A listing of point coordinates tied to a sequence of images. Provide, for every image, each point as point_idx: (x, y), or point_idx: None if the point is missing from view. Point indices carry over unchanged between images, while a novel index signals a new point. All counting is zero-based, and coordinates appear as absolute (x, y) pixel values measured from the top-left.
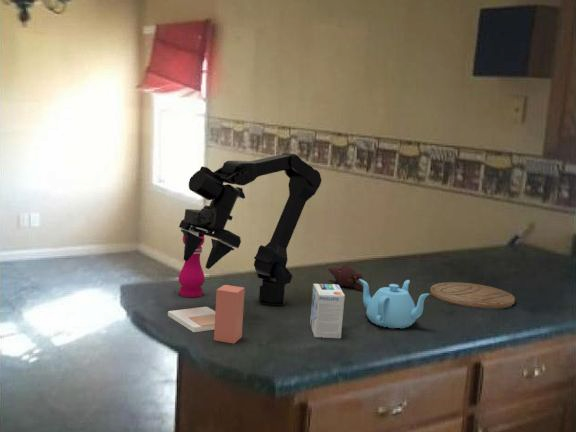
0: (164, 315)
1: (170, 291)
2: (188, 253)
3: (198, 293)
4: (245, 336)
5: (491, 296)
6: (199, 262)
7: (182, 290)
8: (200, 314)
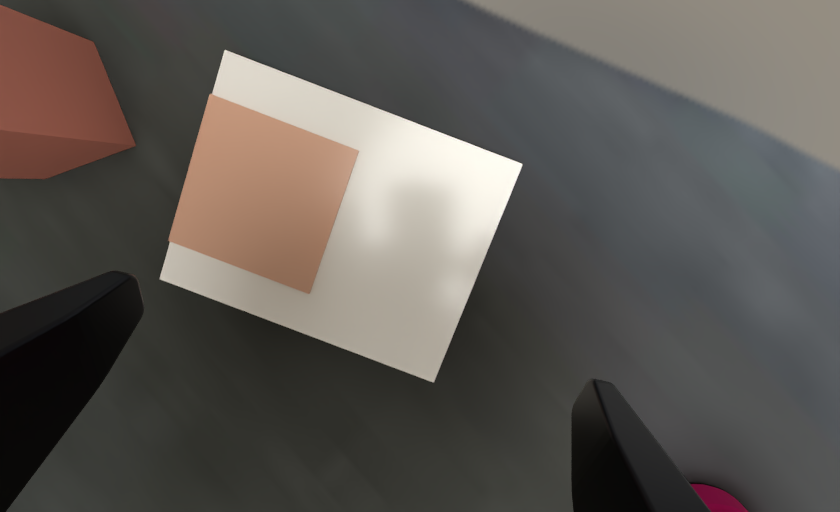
0: (537, 158)
1: (811, 506)
2: (604, 488)
3: None
4: (43, 201)
5: None
6: None
7: (721, 504)
8: (359, 250)
